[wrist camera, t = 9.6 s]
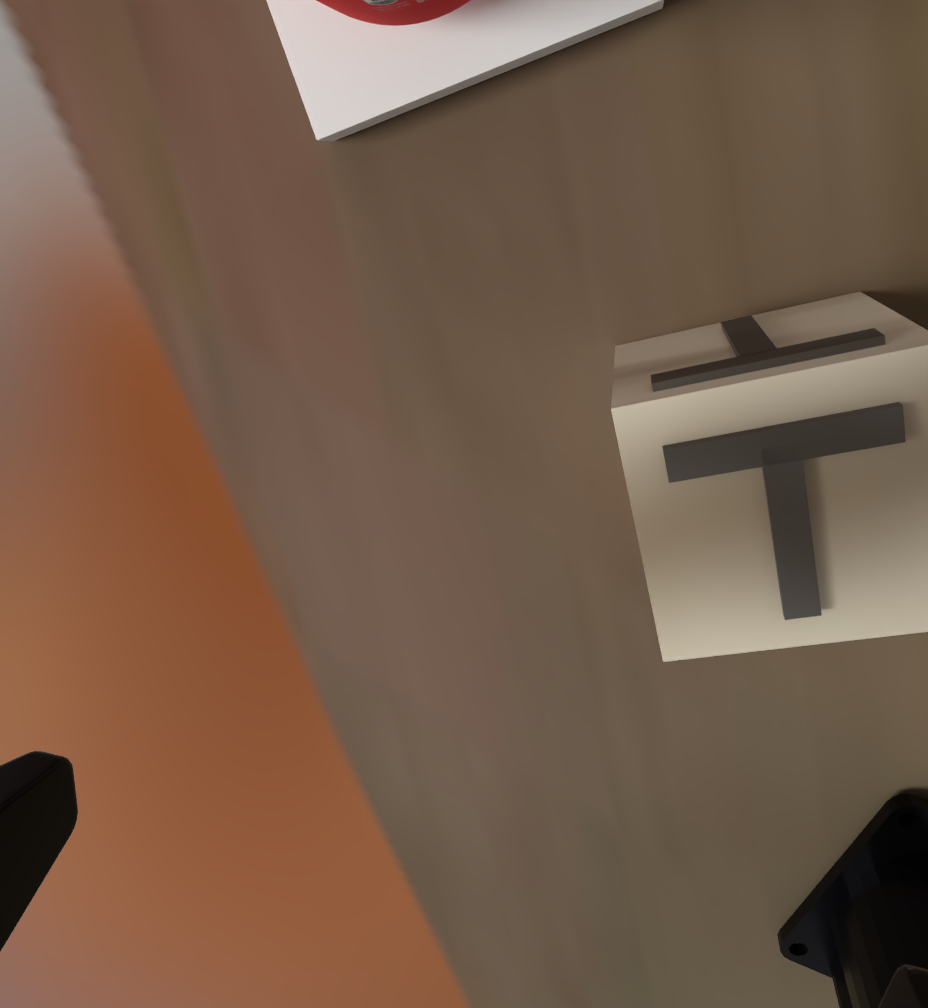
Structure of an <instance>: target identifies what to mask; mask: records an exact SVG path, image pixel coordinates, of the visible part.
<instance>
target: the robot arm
mask: <svg viewBox="0 0 928 1008" xmlns="http://www.w3.org/2000/svg"><path fill="white" fill-rule="evenodd" d="M906 813H914V814H912V815H911V816H907V817H903V816H902V815H904V814H906ZM77 814H78V808H77V799H76V791H75V782H74V774H73V767H72V764H71V763H70V761H69V760H68V759H67V758H65V757H62V756H58V755H54V754H50V753H46V752H41V751H34V752H30V753H27V754H25V755H22V756H20V757H18V758H16V759H14V760H11V761H9V762H7V763H5V764H3V765H0V951H1V949H2V948H3V946H4V945H5V943H6V941H7V940H8V938H9V936H10V935H11V933H12V931H13V930H14V928H15V926H16V925H17V923H18V922H19V920H20V918H21V917H22V915H23V913H24V912H25V910H26V908H27V906H28V905H29V903H30V902H31V900H32V898H33V897H34V895H35V893H36V891H37V890H38V888H39V886H40V885H41V883H42V882H43V880H44V878H45V876H46V875H47V873H48V872H49V870H50V868H51V867H52V865H53V863H54V862H55V860H56V858H57V857H58V855H59V853H60V852H61V850H62V848H63V847H64V845H65V844H66V842H67V840H68V839H69V836H70V835H71V833H72V831H73V829H74V827H75V824H76V820H77ZM778 941H779V946H780V951H781V953H782V954H783V956H784V957H786V958H787V959H789V960H791V961H794V962H796V963H798V964H801V965H803V966H805V967H808V968H810V969H812V970H815V971H817V972H820V973H822V974H824V975H827V976H829V977H831V978H833V982H834V986H835V990H836V994H837V998H838V1003H839V1007H840V1008H928V801H927V800H925V799H922V798H920V797H917V796H914V795H910V794H900V795H897V796H894V797H892V798H891V799H890V800H888V801H887V802H886V803H885V804H884V806H883V807H882V808H881V809H880V810H879V812H878V813H877V814H876V815H875V816H874V818H873V819H872V820H871V821H870V822H869V824H868V825H867V826H866V827H865V828H864V830H863V831H862V832H861V833H860V834H859V836H858V837H857V838H856V839H855V840H854V842H853V843H852V844H851V845H850V846H849V848H848V849H847V850H846V851H845V852H844V854H843V855H842V856H841V857H840V858H839V860H838V861H837V862H836V863H835V864H834V866H833V867H832V868H831V869H830V870H829V872H828V873H827V874H826V875H825V876H824V878H823V879H822V880H821V881H820V882H819V884H818V885H817V886H816V887H815V888H814V890H813V891H812V892H811V893H810V894H809V896H808V897H807V898H806V899H805V900H804V902H803V903H802V904H801V905H800V906H799V908H798V909H797V910H796V911H795V912H794V914H793V915H792V916H791V917H790V918H789V920H788V921H787V922H786V923H785V924H784V926H783V927H782V928H781V929H780V931H779V933H778Z"/></svg>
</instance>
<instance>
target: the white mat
mask: <svg viewBox="0 0 928 1008" xmlns="http://www.w3.org/2000/svg"><path fill="white" fill-rule="evenodd" d="M267 3H268V6H269V9H270V12H271V14H272V17H273V20H274V23H275V25H276V28H277V31H278V34H279V37H280V39H281V42H282V45H283V48H284V50H285V53H286V56H287V59H288V61H289V64H290V67H291V70H292V73H293V75H294V78H295V81H296V84H297V86H298V89H299V92H300V95H301V97H302V100H303V103H304V106H305V109H306V111H307V114H308V117H309V120H310V122H311V125H312V128H313V131H314V134H315V136H316V139H317V140H320V141H335V140H338V139H340V138H343V137H345V136H348V135H350V134H353V133H355V132H358V131H360V130H363V129H365V128H368V127H370V126H373V125H375V124H377V123H380V122H382V121H385V120H387V119H390V118H392V117H395V116H397V115H400V114H402V113H405V112H407V111H410V110H412V109H415V108H417V107H420V106H422V105H425V104H427V103H430V102H432V101H434V100H437V99H439V98H442V97H444V96H447V95H449V94H452V93H454V92H457V91H459V90H462V89H464V88H467V87H469V86H472V85H474V84H477V83H479V82H482V81H484V80H487V79H489V78H491V77H494V76H496V75H499V74H501V73H504V72H506V71H509V70H511V69H514V68H516V67H519V66H521V65H524V64H526V63H529V62H531V61H534V60H536V59H539V58H541V57H544V56H546V55H548V54H551V53H553V52H556V51H558V50H561V49H563V48H566V47H568V46H571V45H573V44H576V43H578V42H581V41H583V40H586V39H588V38H591V37H593V36H596V35H598V34H601V33H603V32H606V31H608V30H610V29H613V28H615V27H618V26H620V25H623V24H625V23H628V22H630V21H633V20H635V19H638V18H640V17H643V16H645V15H648V14H650V13H653V12H655V11H658V10H660V9H662V8H663V4H664V0H470V1H469V2H467V3H466V4H464V5H463V6H461V7H460V8H458V9H456V10H454V11H452V12H450V13H448V14H446V15H443V16H441V17H439V18H436V19H433V20H430V21H426V22H422V23H418V24H411V25H399V26H390V25H379V24H372V23H368V22H364V21H360V20H357V19H354V18H351V17H349V16H346V15H344V14H342V13H340V12H338V11H335V10H334V9H332V8H330V7H328V6H326V5H324V4H322V3H320V2H318V1H316V0H267Z"/></svg>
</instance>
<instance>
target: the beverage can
mask: <svg viewBox="0 0 928 1008" xmlns="http://www.w3.org/2000/svg"><path fill="white" fill-rule="evenodd" d="M316 1H318V2H320V3H322V4H324V5H326V6H328V7H330V8H332V9H334V10H335V11H338V12H340V13H342V14H344V15H346V16H349V17H351V18H354V19H357V20H360V21H364V22H368V23H372V24H379V25H390V26H399V25H411V24H418V23H422V22H426V21H430V20H433V19H436V18H439V17H441V16H443V15H446V14H448V13H450V12H452V11H454V10H456V9H458V8H460V7H461V6H463V5H464V4H466V3H467V2H469V1H470V0H316Z"/></svg>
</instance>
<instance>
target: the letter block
mask: <svg viewBox="0 0 928 1008" xmlns="http://www.w3.org/2000/svg"><path fill="white" fill-rule="evenodd" d="M611 411H612V416H613V421H614V425H615V430H616V435H617V440H618V445H619V450H620V455H621V459H622V464H623V469H624V474H625V479H626V484H627V489H628V493H629V498H630V503H631V508H632V513H633V518H634V522H635V527H636V532H637V537H638V542H639V547H640V552H641V556H642V561H643V566H644V571H645V576H646V581H647V586H648V590H649V595H650V600H651V605H652V610H653V615H654V620H655V624H656V629H657V634H658V639H659V644H660V649H661V653H662V658H663V662H666V661H675V660H683V659H692V658H701V657H710V656H719V655H727V654H736V653H745V652H754V651H763V650H771V649H780V648H789V647H798V646H807V645H815V644H824V643H833V642H842V641H851V640H859V639H868V638H877V637H886V636H894V635H903V634H912V633H921V632H928V330H926V329H925V328H923V327H921V326H919V325H918V324H916V323H914V322H912V321H911V320H909V319H907V318H905V317H904V316H902V315H900V314H898V313H897V312H895V311H893V310H891V309H890V308H888V307H886V306H885V305H883V304H881V303H879V302H878V301H876V300H874V299H872V298H871V297H869V296H867V295H865V294H864V293H862V292H855V293H851V294H846V295H842V296H837V297H833V298H828V299H824V300H819V301H815V302H810V303H806V304H802V305H797V306H793V307H788V308H784V309H779V310H775V311H770V312H766V313H761V314H757V315H752V316H747V317H743V318H738V319H734V320H729V321H725V322H721V323H716V324H712V325H707V326H703V327H698V328H694V329H689V330H685V331H680V332H676V333H671V334H667V335H662V336H658V337H653V338H649V339H644V340H640V341H635V342H631V343H626V344H622V345H617V346H616V347H615V361H614V375H613V389H612V403H611Z"/></svg>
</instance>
